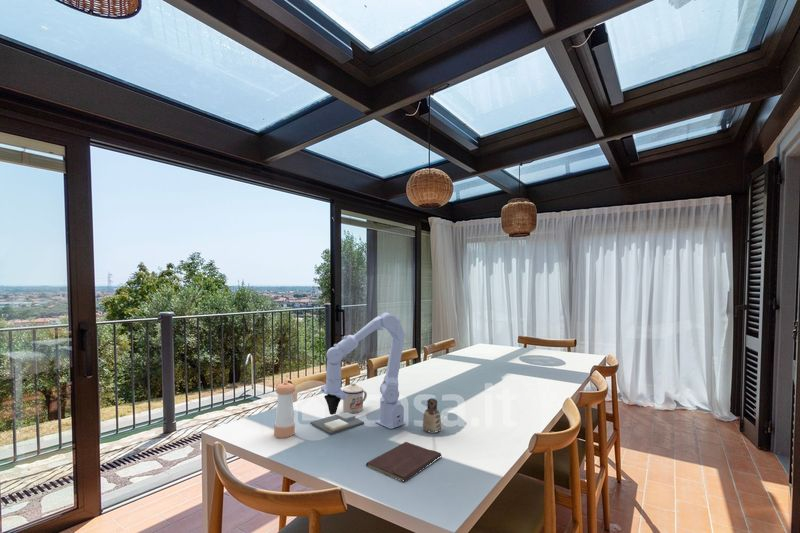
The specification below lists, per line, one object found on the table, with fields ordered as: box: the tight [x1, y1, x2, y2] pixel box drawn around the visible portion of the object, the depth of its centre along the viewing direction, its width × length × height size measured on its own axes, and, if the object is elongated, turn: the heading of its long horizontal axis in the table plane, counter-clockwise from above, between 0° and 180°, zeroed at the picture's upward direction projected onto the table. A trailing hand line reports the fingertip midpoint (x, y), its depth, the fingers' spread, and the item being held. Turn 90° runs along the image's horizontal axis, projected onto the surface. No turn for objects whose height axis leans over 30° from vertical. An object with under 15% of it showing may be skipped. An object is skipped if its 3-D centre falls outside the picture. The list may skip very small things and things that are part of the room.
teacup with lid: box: [342, 382, 368, 414], centre depth 167 cm, size 12×9×12 cm
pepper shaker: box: [273, 381, 296, 439], centre depth 140 cm, size 7×7×19 cm
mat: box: [309, 412, 365, 436], centre depth 150 cm, size 14×16×1 cm
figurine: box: [422, 397, 442, 432], centre depth 146 cm, size 7×7×12 cm
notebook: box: [365, 441, 442, 483], centre depth 119 cm, size 15×20×2 cm
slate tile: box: [336, 411, 356, 422], centre depth 154 cm, size 6×5×1 cm
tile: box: [324, 419, 348, 431], centre depth 145 cm, size 1×7×6 cm
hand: (332, 413), depth 147 cm, fingers closed
